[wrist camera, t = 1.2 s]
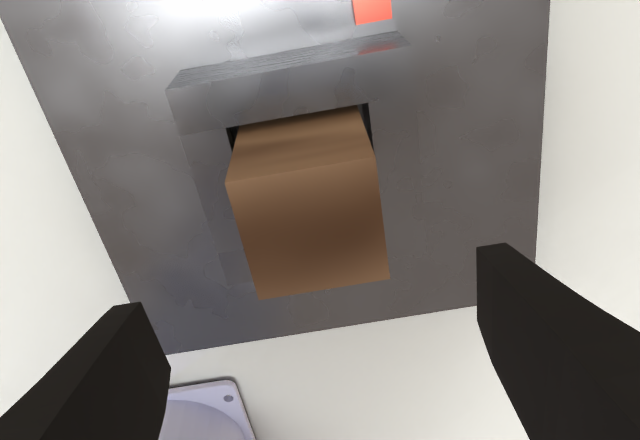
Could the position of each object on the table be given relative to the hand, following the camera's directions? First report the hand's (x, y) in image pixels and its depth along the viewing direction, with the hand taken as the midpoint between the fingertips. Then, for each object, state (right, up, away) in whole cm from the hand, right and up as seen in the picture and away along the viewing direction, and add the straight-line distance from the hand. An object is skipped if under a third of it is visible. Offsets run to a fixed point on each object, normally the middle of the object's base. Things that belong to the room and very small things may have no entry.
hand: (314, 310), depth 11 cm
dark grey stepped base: (0, +5, +9) cm, 11 cm away
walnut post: (0, +4, +8) cm, 9 cm away
